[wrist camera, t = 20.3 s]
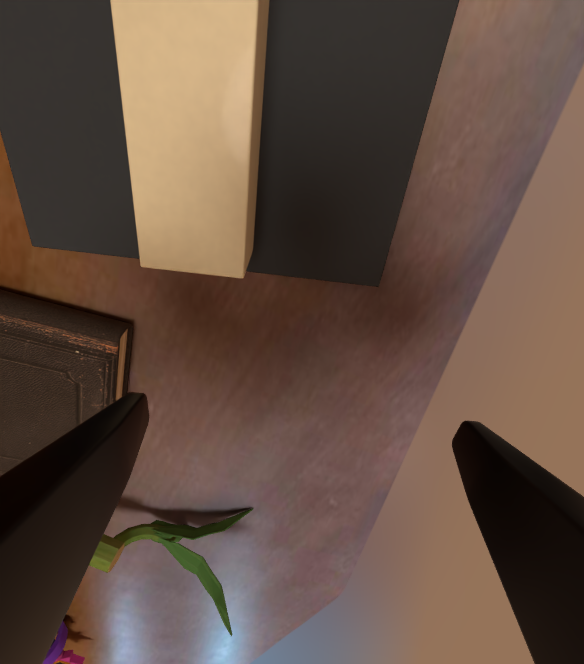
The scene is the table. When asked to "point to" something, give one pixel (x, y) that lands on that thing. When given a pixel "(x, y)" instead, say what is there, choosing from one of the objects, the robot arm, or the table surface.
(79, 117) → the rubber mat
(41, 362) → the brown leather hardcover
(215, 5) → the cream block
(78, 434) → the robot arm
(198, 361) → the table surface
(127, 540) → the decorative plant
